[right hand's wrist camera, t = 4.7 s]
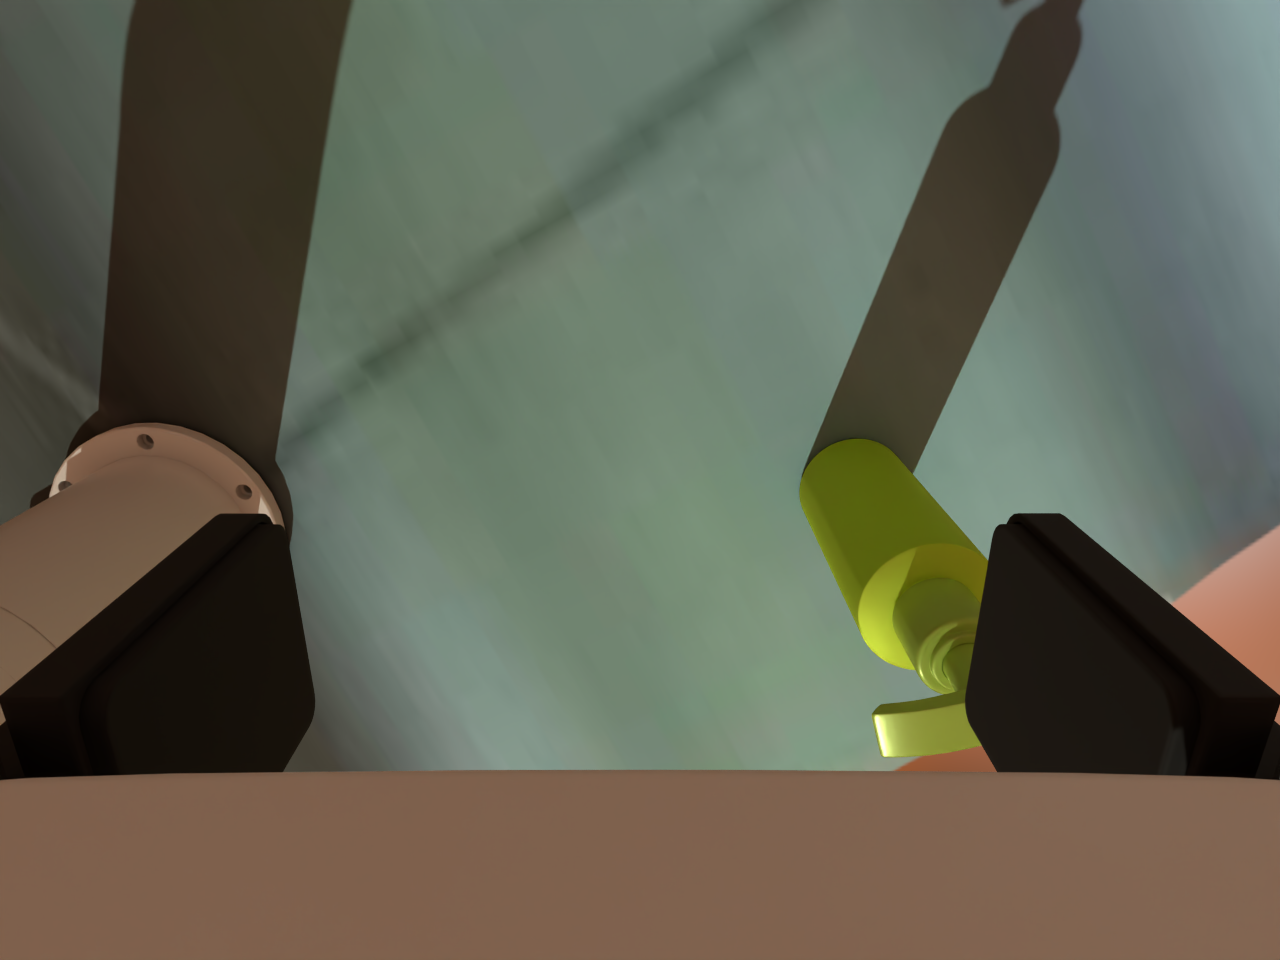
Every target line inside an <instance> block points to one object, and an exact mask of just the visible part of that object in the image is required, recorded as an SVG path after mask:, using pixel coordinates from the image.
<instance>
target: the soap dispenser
mask: <svg viewBox="0 0 1280 960" xmlns="http://www.w3.org/2000/svg"><path fill="white" fill-rule="evenodd" d="M800 502H801V506H802V509H803V511H804V513H805V515H806V517H807V520H808V522H809V524H810V526H811V528H812V530H813V532H814V534H815V537H816V539H817V541H818V543H819V545H820V547H821V549H822V552H823V554H824V556H825V558H826V560H827V562H828V564H829V567H830V569H831V571H832V573H833V575H834V577H835V579H836V581H837V584H838V586H839V588H840V590H841V592H842V594H843V596H844V599H845V601H846V603H847V605H848V607H849V609H850V611H851V614H852V616H853V618H854V620H855V622H856V624H857V626H858V628H859V631H860V633H861V635H862V637H863V639H864V641H865V642H866V644H867V645H868V647H869V648H870V649H871V650H872V651H873V652H874V653H875V654H876V655H877V656H879V657H880V658H881V659H883V660H884V661H886V662H888V663H890V664H892V665H895V666H898V667H901V668H905V669H911V670H916V672H917V674H918V675H919V677H920V678H921V680H922V681H923V682H924V683H925V684H926V685H927V686H928V687H929V688H930V689H932V690H934V691H936V692H938V693H941V694H944V695H940V696H936V697H931V698H926V699H921V700H915V701H908V702H900V703H889V704H882V705H880V706H878V707H877V708H876V709H875V711H874V712H873V713H872V719H873V724H874V728H875V733H876V737H877V741H878V745H879V750H880V754H881V756H882V757H911V756H924V755H934V754H941V753H948V752H953V751H959V750H963V749H968V748H973V747H977V746H980V745H981V743H980V742H979V740H978V738H977V736H976V735H975V733H974V731H973V730H972V728H971V726H970V724H969V722H968V719H967V715H966V710H965V694H966V688H967V682H968V676H969V670H970V665H971V659H972V653H973V647H974V641H975V636H976V630H977V624H978V618H979V612H980V607H981V601H982V595H983V589H984V583H985V578H986V572H987V566H988V560H987V559H986V558H985V557H984V556H983V554H982V553H981V552H980V551H979V550H978V549H977V548H976V546H975V545H974V544H973V543H972V542H971V541H970V539H969V538H968V537H967V536H966V535H965V534H964V533H963V531H962V530H961V529H960V528H959V527H958V526H957V525H956V523H955V522H954V521H953V520H952V519H951V518H950V517H949V515H948V514H947V513H946V512H945V511H944V510H943V509H942V507H941V506H940V505H939V504H938V503H937V502H936V501H935V499H934V498H933V497H932V496H931V495H930V494H929V493H928V491H927V490H926V489H925V488H924V487H923V486H922V484H921V483H920V482H919V481H918V480H917V479H916V478H915V476H914V475H913V474H912V473H911V472H910V471H909V470H908V468H907V467H906V466H905V465H904V464H903V463H902V462H901V460H900V459H899V458H898V457H897V456H896V455H895V454H894V453H893V452H892V451H891V450H890V449H889V448H887V447H886V446H884V445H882V444H880V443H878V442H875V441H872V440H867V439H848V440H843V441H840V442H837V443H834V444H832V445H830V446H828V447H827V448H825V449H824V450H822V451H821V452H820V453H818V454H817V455H816V456H815V457H814V458H813V459H812V461H811V462H810V463H809V465H808V466H807V468H806V470H805V471H804V474H803V476H802V479H801V483H800Z"/></svg>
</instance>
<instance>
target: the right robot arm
mask: <svg viewBox="0 0 1280 960" xmlns="http://www.w3.org/2000/svg"><path fill="white" fill-rule="evenodd" d="M247 486H248V487H249V488H250V489H249V488H248V487H247ZM1279 705H1280V695H1279V694H1277V693H1276V692H1275V691H1274V690H1273V689H1271V688H1270V687H1269V686H1268V685H1267V684H1265V683H1264V682H1263V681H1262V680H1261V679H1259V678H1258V677H1257V676H1256V675H1255V674H1253V673H1252V672H1251V671H1250V670H1249V669H1247V668H1246V667H1245V666H1244V665H1243V664H1241V663H1240V662H1239V661H1238V660H1237V659H1235V658H1234V657H1233V656H1232V655H1231V654H1229V653H1228V652H1227V651H1226V650H1225V649H1223V648H1222V647H1221V646H1220V645H1219V644H1217V643H1216V642H1215V641H1214V640H1213V639H1211V638H1210V637H1209V636H1208V635H1207V634H1205V633H1204V632H1203V631H1202V630H1201V629H1199V628H1198V627H1197V626H1196V625H1195V624H1193V623H1192V622H1191V621H1190V620H1189V619H1187V618H1186V617H1185V616H1184V615H1183V614H1181V613H1180V612H1179V611H1178V610H1177V609H1175V608H1174V607H1173V606H1172V605H1171V604H1170V603H1168V602H1167V601H1166V600H1165V599H1164V598H1162V597H1161V596H1160V595H1159V594H1158V593H1156V592H1155V591H1154V590H1153V589H1152V588H1150V587H1149V586H1148V585H1147V584H1146V583H1144V582H1143V581H1142V580H1141V579H1140V578H1138V577H1137V576H1136V575H1135V574H1134V573H1132V572H1131V571H1130V570H1129V569H1128V568H1126V567H1125V566H1124V565H1123V564H1122V563H1120V562H1119V561H1118V560H1117V559H1116V558H1114V557H1113V556H1112V555H1111V554H1110V553H1108V552H1107V551H1106V550H1105V549H1104V548H1102V547H1101V546H1100V545H1099V544H1098V543H1096V542H1095V541H1094V540H1093V539H1092V538H1090V537H1089V536H1088V535H1087V534H1086V533H1084V532H1083V531H1082V530H1081V529H1080V528H1078V527H1077V526H1076V525H1075V524H1074V523H1072V522H1071V521H1070V520H1069V519H1068V518H1066V517H1065V516H1064V515H1062V514H1060V513H1018V514H1014V515H1012V516H1011V517H1010V518H1009V520H1008V522H1007V524H1000V525H998V526H997V527H996V529H995V531H994V534H993V537H992V543H991V549H990V554H989V560H988V566H987V572H986V578H985V583H984V589H983V595H982V601H981V607H980V612H979V618H978V624H977V630H976V636H975V641H974V647H973V653H972V659H971V665H970V670H969V676H968V682H967V688H966V694H965V710H966V715H967V719H968V722H969V724H970V726H971V728H972V730H973V731H974V733H975V735H976V736H977V738H978V740H979V742H980V743H981V745H982V747H983V748H984V750H985V752H986V753H987V755H988V757H989V759H990V760H991V762H992V764H993V765H994V767H995V769H996V771H997V772H910V771H795V770H451V771H359V772H283V771H284V769H285V767H286V765H287V764H288V762H289V760H290V759H291V757H292V755H293V753H294V752H295V750H296V748H297V747H298V745H299V743H300V742H301V740H302V738H303V736H304V735H305V733H306V731H307V730H308V728H309V726H310V724H311V722H312V719H313V715H314V710H315V694H314V688H313V682H312V676H311V670H310V665H309V659H308V653H307V647H306V641H305V636H304V630H303V624H302V618H301V612H300V607H299V601H298V595H297V589H296V583H295V578H294V572H293V566H292V560H291V554H290V549H289V543H288V537H287V534H286V531H285V527H284V523H283V519H282V515H281V512H280V510H279V507H278V505H277V503H276V501H275V499H274V497H273V495H272V493H271V491H270V490H269V488H268V487H267V486H266V484H265V483H264V481H263V480H262V478H261V477H260V476H259V474H258V473H257V472H256V471H255V470H254V469H253V468H252V467H251V466H250V465H249V464H248V463H247V462H246V461H245V460H244V459H243V458H241V457H240V456H239V455H237V454H236V453H235V452H233V451H232V450H231V449H229V448H228V447H226V446H225V445H224V444H222V443H220V442H218V441H216V440H214V439H212V438H210V437H208V436H206V435H204V434H202V433H199V432H196V431H193V430H190V429H187V428H184V427H181V426H175V425H169V424H163V423H134V424H129V425H125V426H120V427H116V428H113V429H111V430H108V431H106V432H104V433H102V434H99V435H97V436H95V437H93V438H92V439H90V440H88V441H87V442H85V443H83V444H82V445H80V446H78V447H77V448H76V449H75V450H74V451H73V452H72V453H71V454H70V455H69V456H68V457H67V458H66V459H65V460H64V462H63V464H62V465H61V467H60V469H59V470H58V472H57V474H56V475H55V478H54V481H53V484H52V487H51V491H50V494H49V498H48V499H46V500H44V501H43V502H41V503H39V504H37V505H36V506H34V507H32V508H30V509H29V510H27V511H25V512H23V513H22V514H20V515H18V516H16V517H15V518H13V519H11V520H9V521H7V522H6V523H4V524H2V525H0V960H1280V725H1279V724H1277V723H1276V722H1275V721H1274V720H1275V717H1276V714H1277V711H1278V708H1279Z"/></svg>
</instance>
